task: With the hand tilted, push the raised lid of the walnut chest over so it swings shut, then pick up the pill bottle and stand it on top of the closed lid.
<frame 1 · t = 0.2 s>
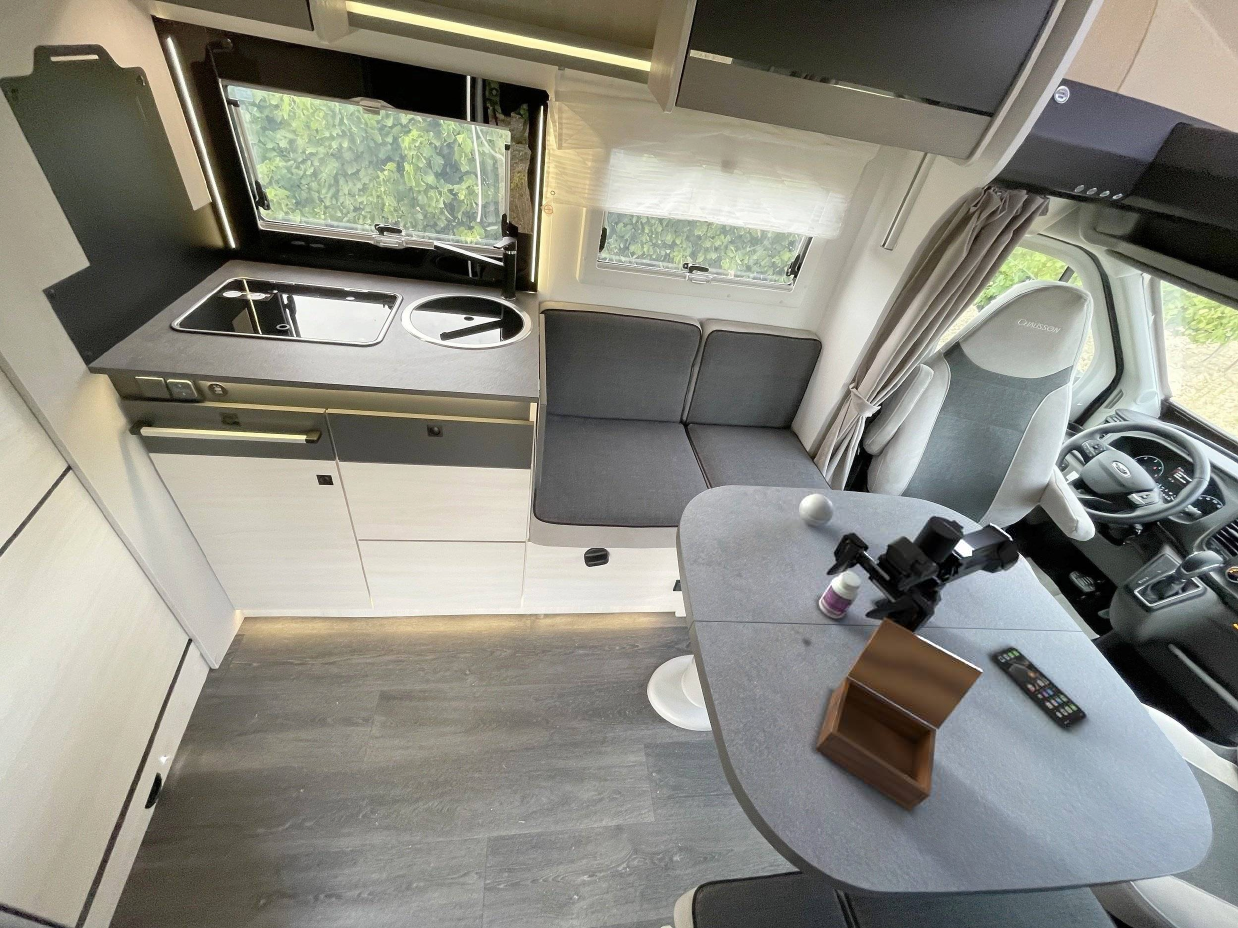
hand: (846, 593, 85), 17 cm above the table, tool horizontal, fingers open, 9 cm apart
pill bottle: (830, 609, 104), on the table
chest: (867, 746, 81), on the table
bath bomb: (809, 522, 125), on the table
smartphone: (1035, 686, 97), on the table
lid: (911, 672, 80), point 12 cm above the table, hinge at 108.0°
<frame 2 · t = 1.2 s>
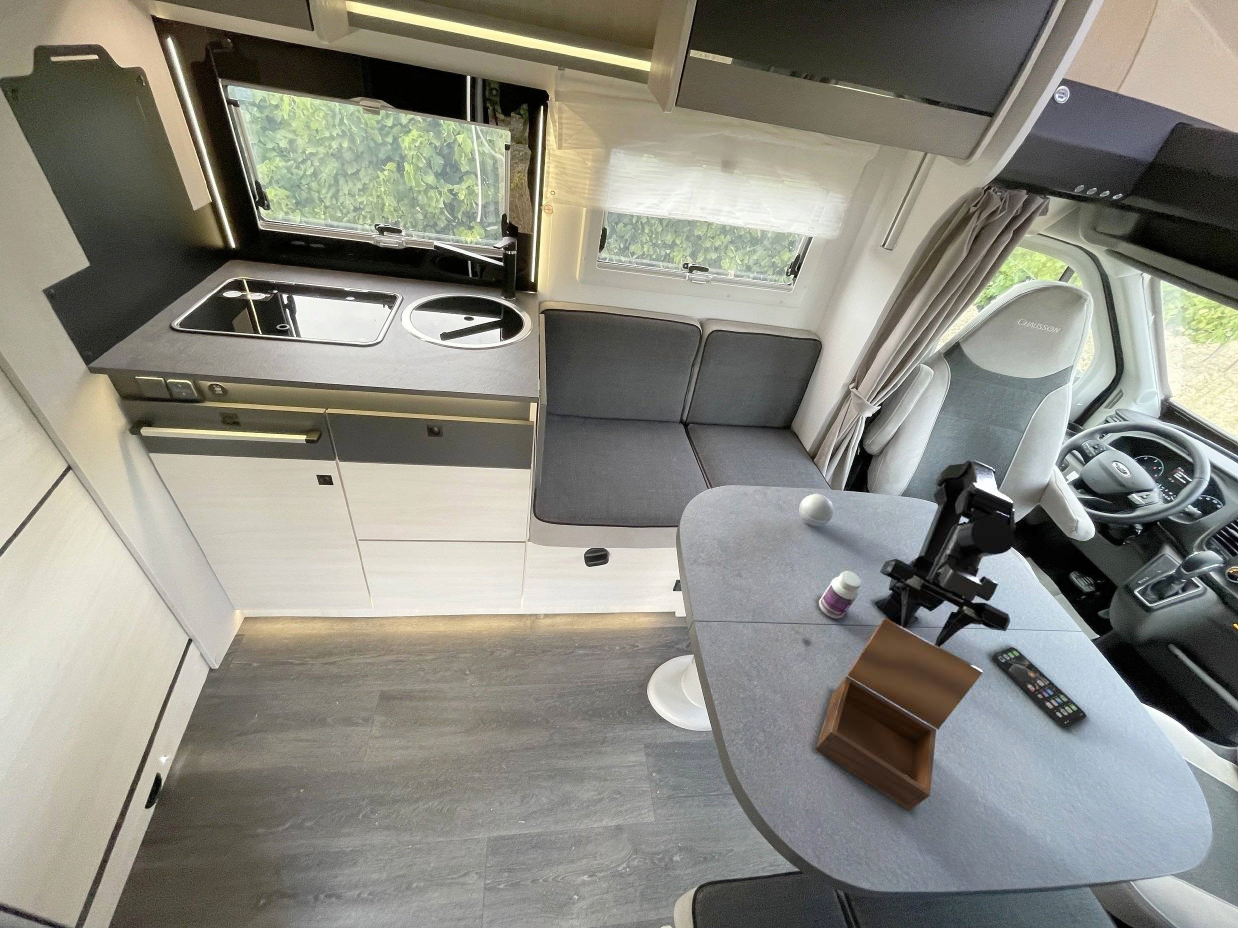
hand: (919, 638, 84), 14 cm above the table, tool tilted 45°, fingers open, 5 cm apart
lid: (911, 672, 80), point 12 cm above the table, hinge at 107.6°
everything else where it was.
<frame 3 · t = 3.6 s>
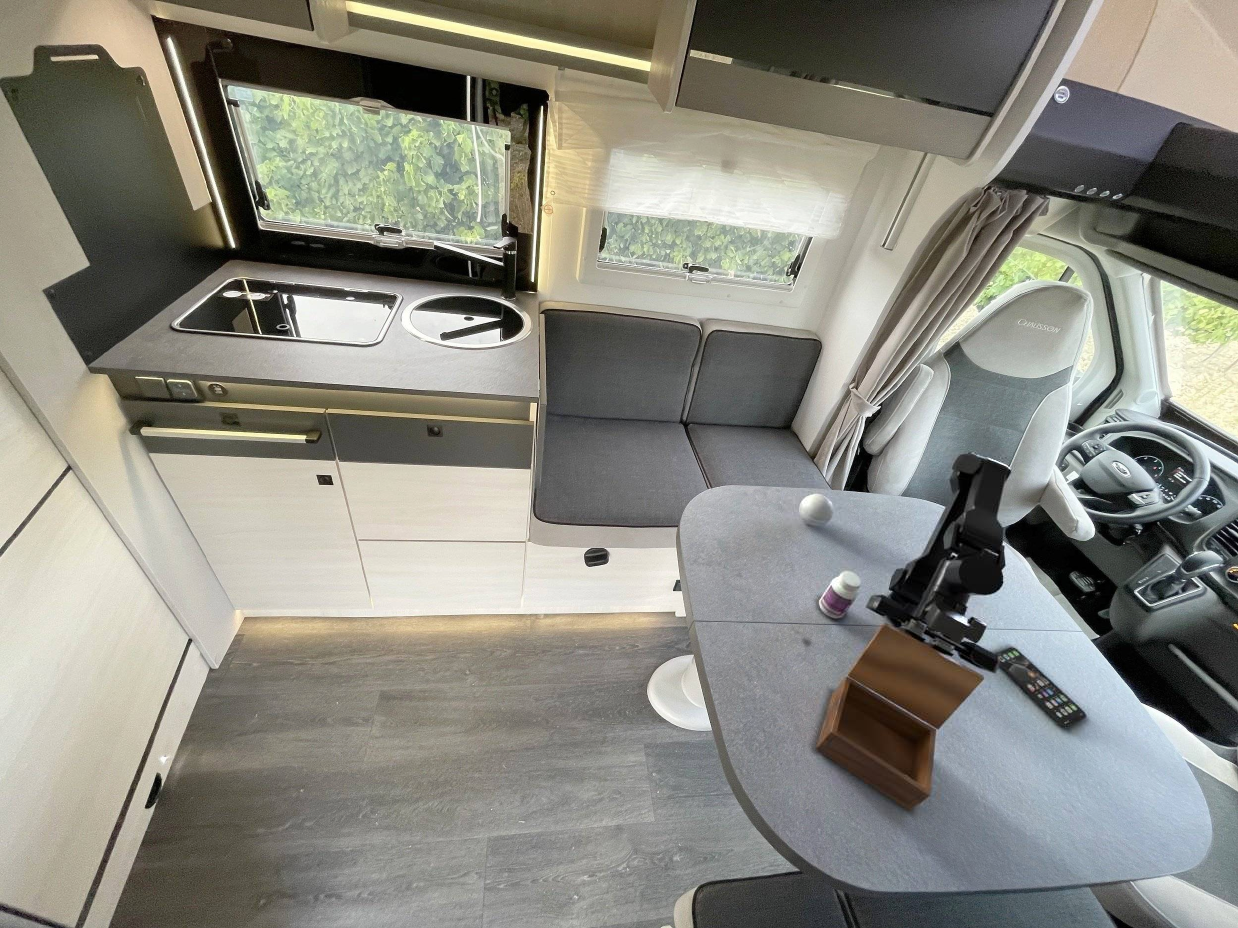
hand: (905, 678, 80), 11 cm above the table, tool tilted 45°, fingers closed, pressing on lid
lid: (911, 675, 79), point 12 cm above the table, hinge at 100.2°, touching gripper
everything else where it was.
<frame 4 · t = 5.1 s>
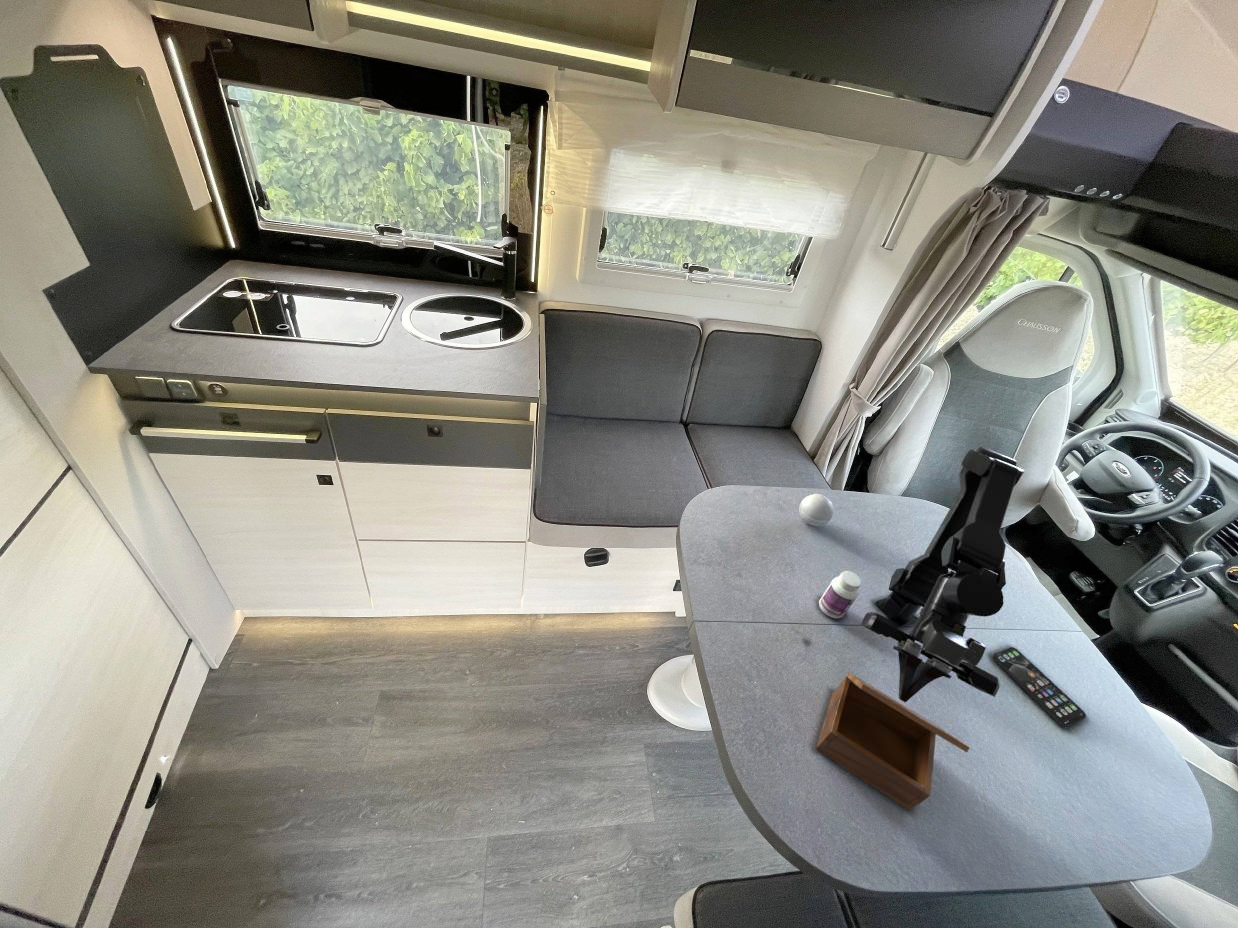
hand: (901, 700, 77), 11 cm above the table, tool tilted 45°, fingers closed
lid: (901, 708, 76), point 11 cm above the table, hinge at 45.4°
everything else where it was.
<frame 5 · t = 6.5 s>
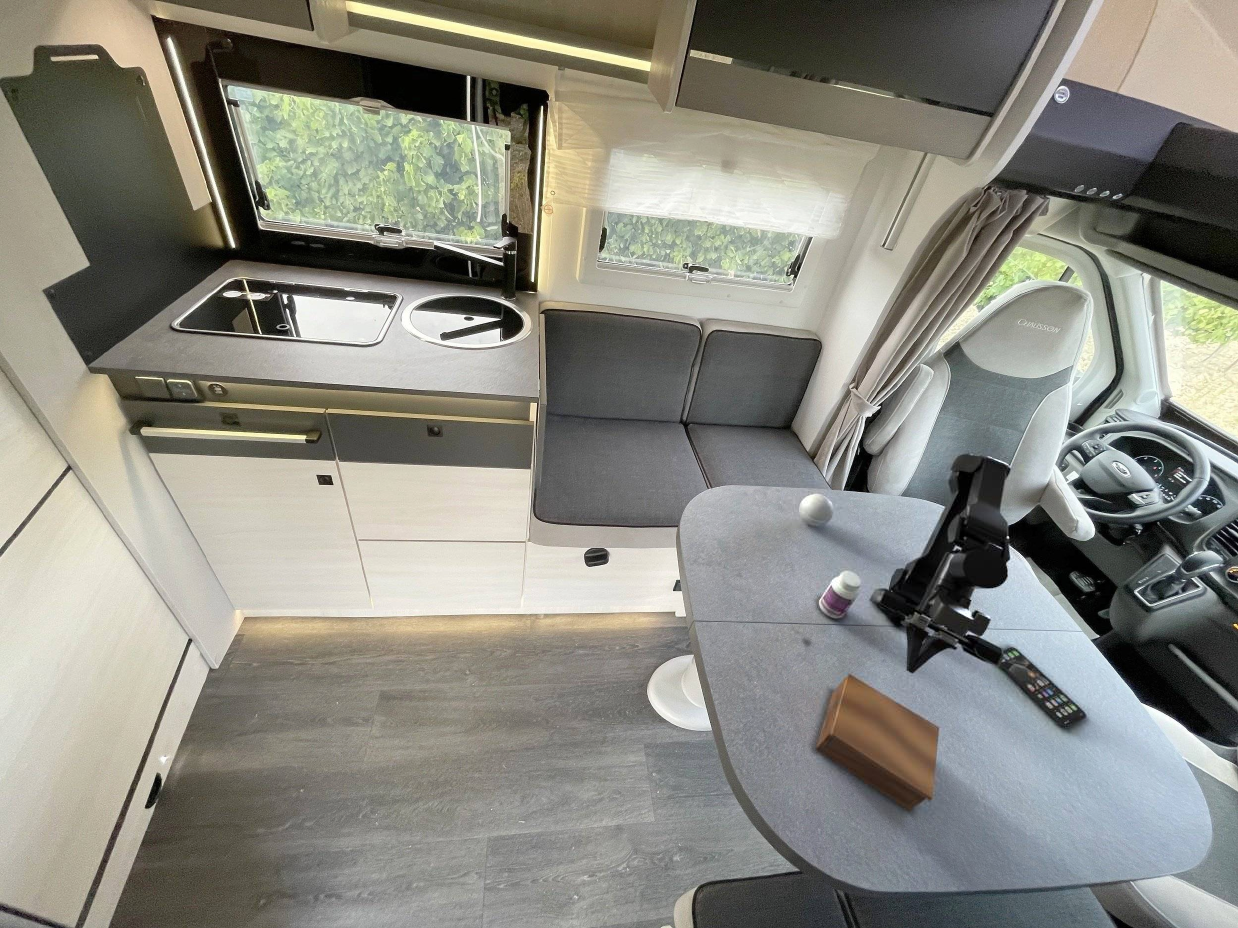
hand: (909, 671, 80), 12 cm above the table, tool tilted 45°, fingers closed
lid: (885, 731, 77), point 6 cm above the table, hinge at -0.2°
everything else where it was.
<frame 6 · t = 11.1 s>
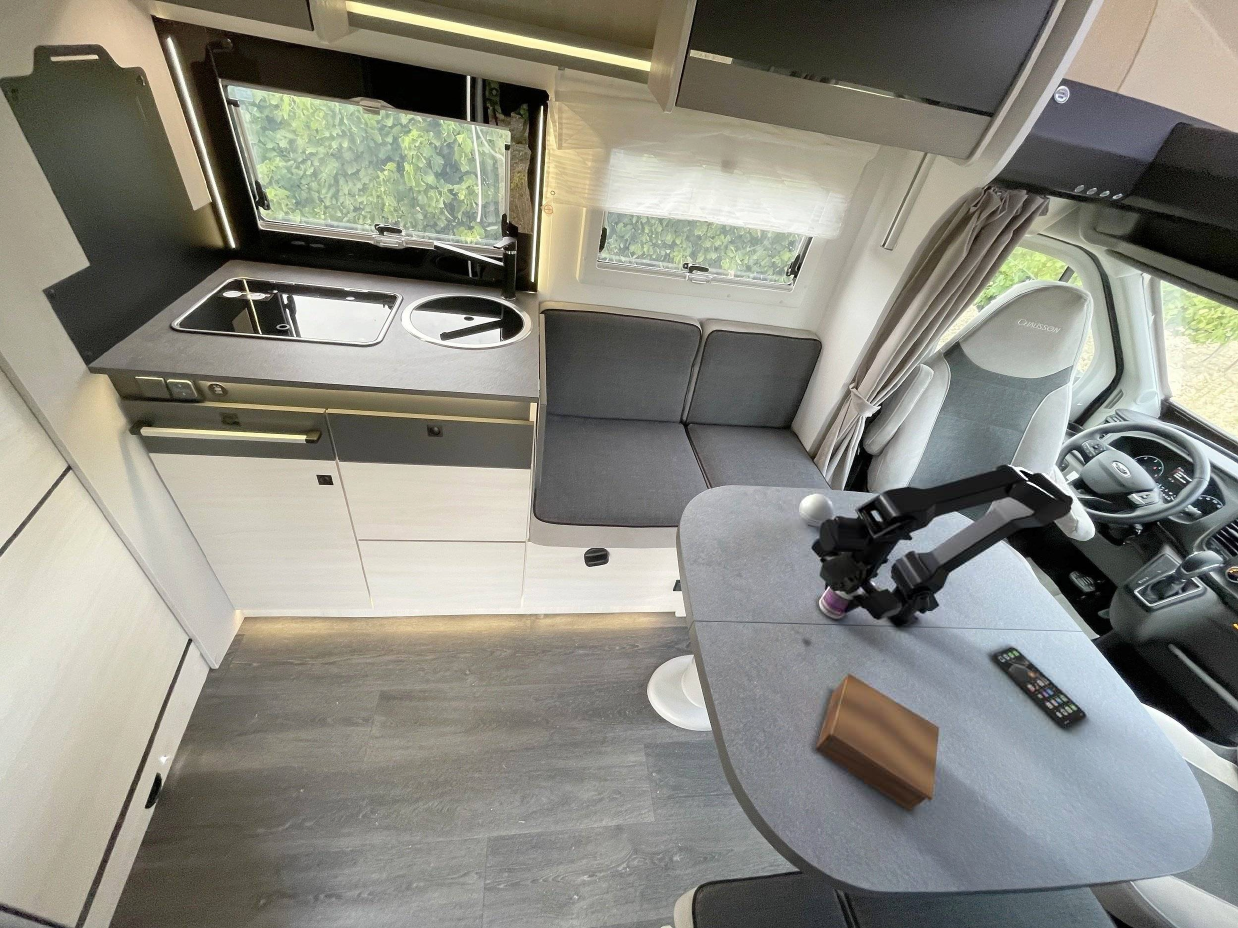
hand: (836, 600, 102), 3 cm above the table, tool pointing down, fingers closed on pill bottle, 5 cm apart
pill bottle: (830, 609, 104), on the table, touching gripper
everything else where it was.
when the fingers open (9 cm above the table, at t = 16.4 s): pill bottle stays where it is, resting on lid.
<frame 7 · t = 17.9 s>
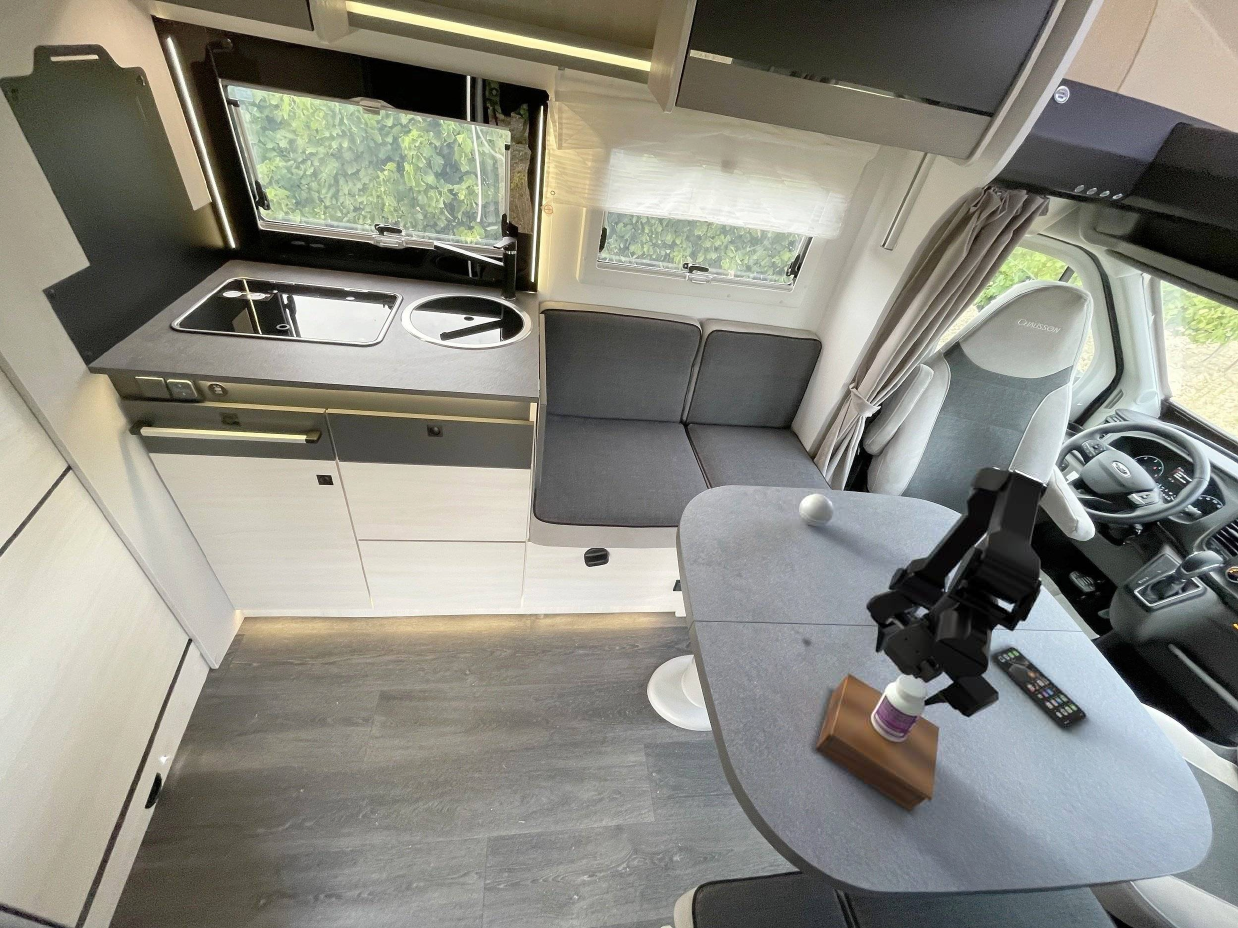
hand: (899, 676, 78), 13 cm above the table, tool pointing down, fingers open, 9 cm apart
pill bottle: (887, 727, 77), point 7 cm above the table, touching lid
lid: (885, 731, 77), point 6 cm above the table, hinge at -0.2°, touching chest, pill bottle
everything else where it was.
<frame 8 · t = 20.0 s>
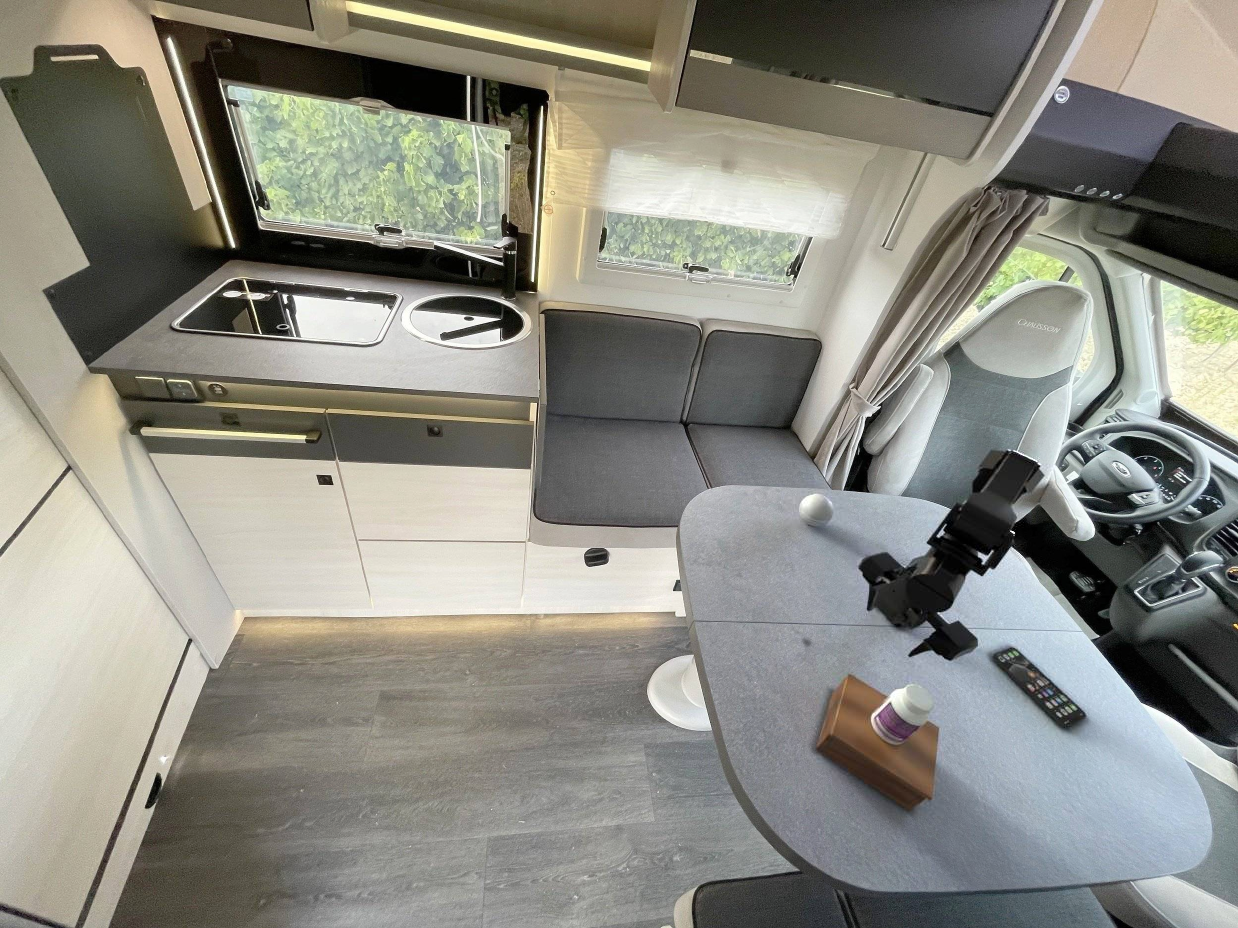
hand: (889, 632, 84), 13 cm above the table, tool pointing down, fingers open, 9 cm apart
at the end: lid at +0° (first picture: +108°); pill bottle inside the target area on the chest (0.0 cm from its centre), point 6.4 cm above the chest's base; pill bottle tilted 0° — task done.
